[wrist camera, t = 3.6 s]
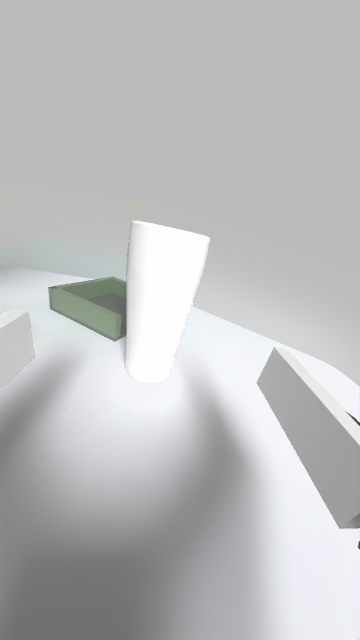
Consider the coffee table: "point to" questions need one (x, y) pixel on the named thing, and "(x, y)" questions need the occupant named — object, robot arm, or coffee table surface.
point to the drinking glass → (159, 295)
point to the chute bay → (93, 305)
